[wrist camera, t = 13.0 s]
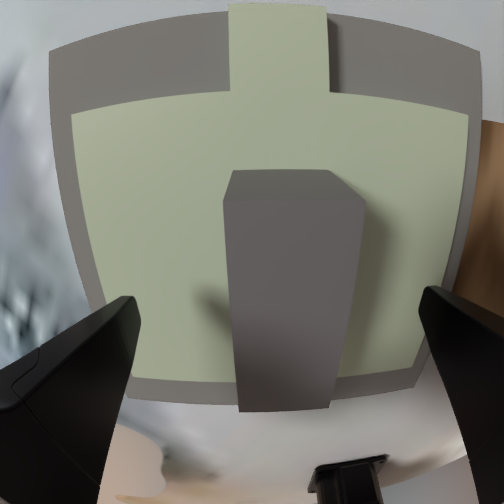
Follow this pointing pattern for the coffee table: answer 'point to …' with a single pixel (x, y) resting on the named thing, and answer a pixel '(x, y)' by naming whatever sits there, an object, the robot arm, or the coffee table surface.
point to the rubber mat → (218, 79)
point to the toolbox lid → (272, 218)
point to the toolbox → (486, 228)
